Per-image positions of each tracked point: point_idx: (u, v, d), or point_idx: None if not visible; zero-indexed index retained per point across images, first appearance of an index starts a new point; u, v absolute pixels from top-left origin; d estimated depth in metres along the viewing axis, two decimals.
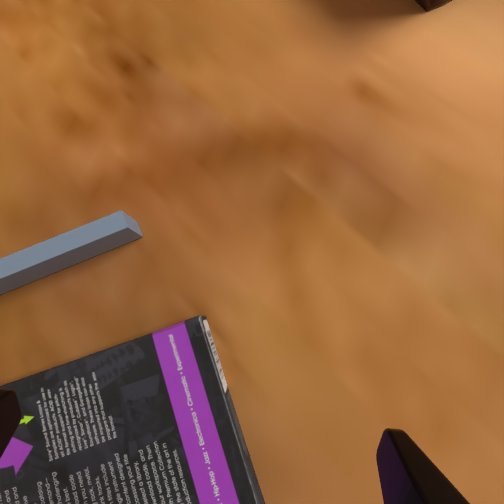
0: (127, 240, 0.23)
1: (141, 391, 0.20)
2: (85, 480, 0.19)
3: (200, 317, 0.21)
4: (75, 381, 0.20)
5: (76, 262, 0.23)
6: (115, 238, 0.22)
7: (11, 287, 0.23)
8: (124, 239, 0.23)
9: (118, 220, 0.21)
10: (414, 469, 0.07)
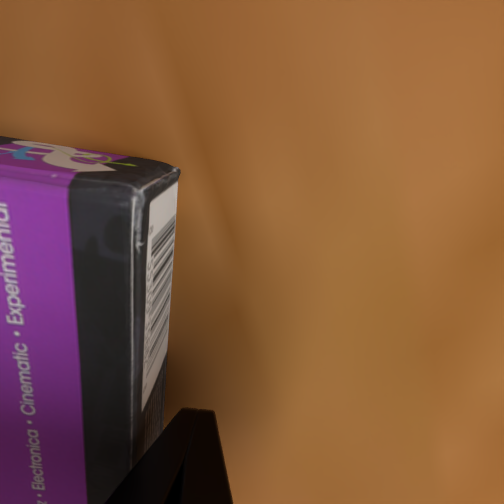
0: None
1: None
2: None
3: (141, 194, 0.05)
4: None
5: None
6: None
7: None
8: None
9: None
10: (195, 446, 0.07)
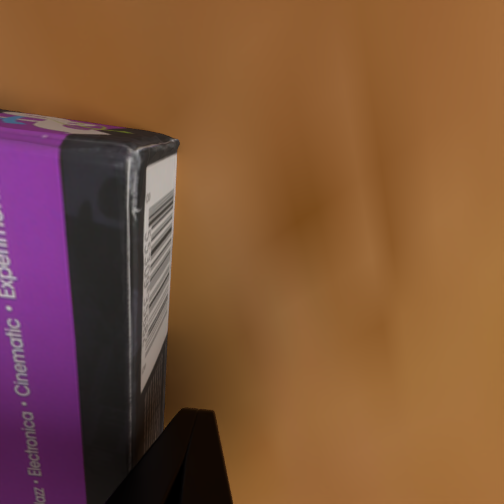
0: None
1: None
2: None
3: (137, 155, 0.05)
4: None
5: None
6: None
7: None
8: None
9: None
10: (195, 446, 0.07)
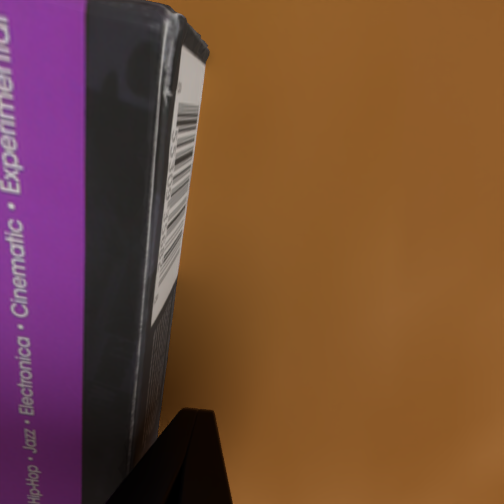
0: None
1: None
2: None
3: (175, 20, 0.04)
4: None
5: None
6: None
7: None
8: None
9: None
10: (195, 446, 0.07)
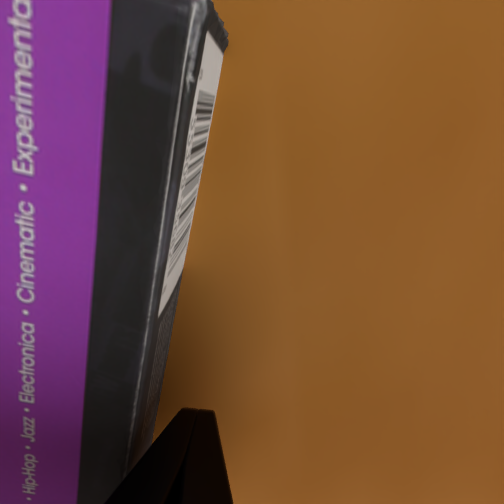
0: None
1: None
2: None
3: (203, 3, 0.04)
4: None
5: None
6: None
7: None
8: None
9: None
10: (195, 446, 0.07)
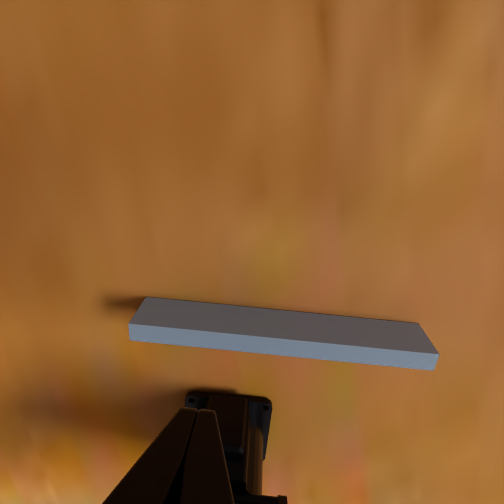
0: None
1: None
2: None
3: None
4: None
5: None
6: None
7: None
8: None
9: None
10: (196, 446, 0.07)
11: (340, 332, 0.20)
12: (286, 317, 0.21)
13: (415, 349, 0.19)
